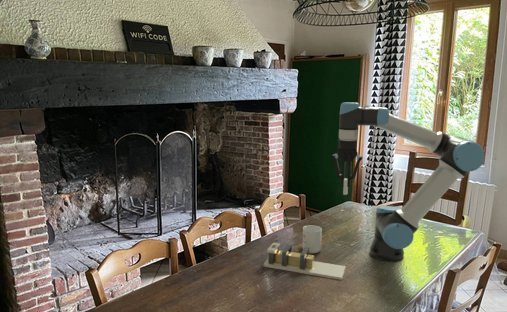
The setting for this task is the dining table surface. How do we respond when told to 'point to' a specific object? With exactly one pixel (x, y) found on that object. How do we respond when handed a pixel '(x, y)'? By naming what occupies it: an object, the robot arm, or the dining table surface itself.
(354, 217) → the dining table surface
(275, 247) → the collars
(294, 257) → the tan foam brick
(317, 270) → the slab
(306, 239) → the mug
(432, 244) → the dining table surface
